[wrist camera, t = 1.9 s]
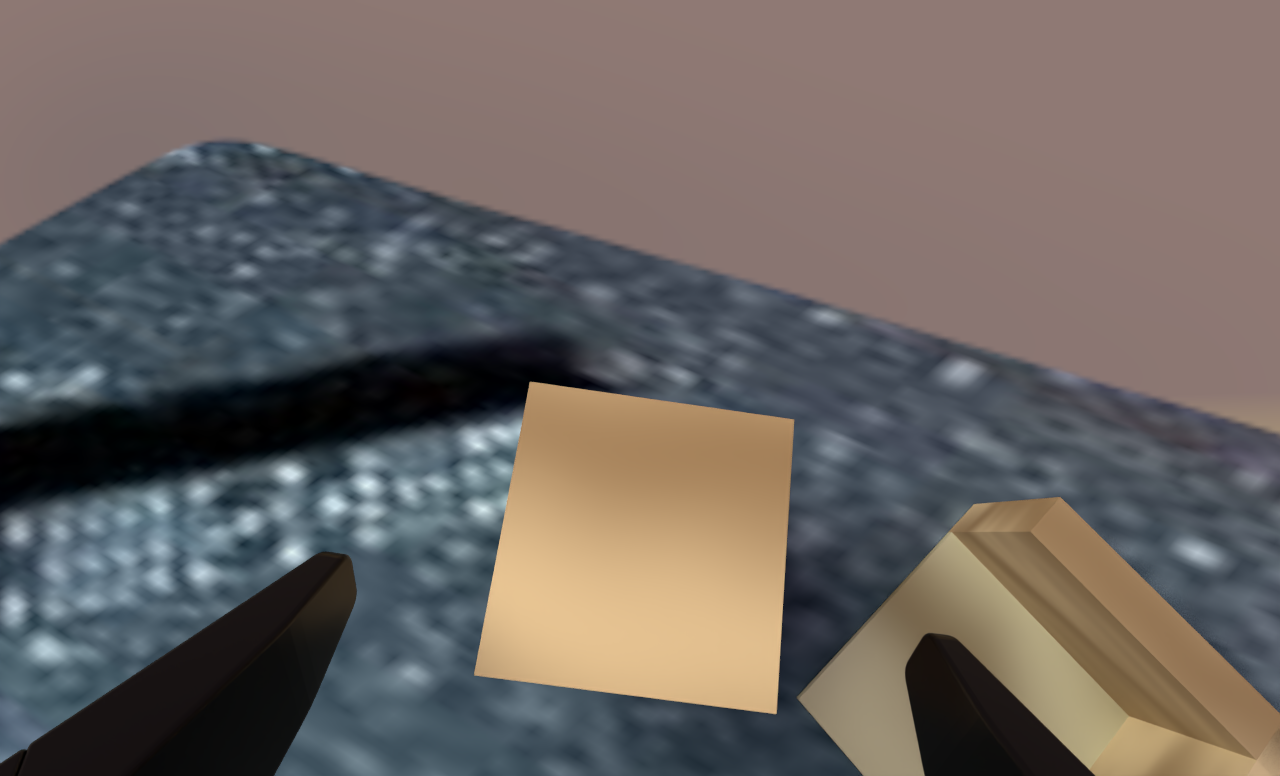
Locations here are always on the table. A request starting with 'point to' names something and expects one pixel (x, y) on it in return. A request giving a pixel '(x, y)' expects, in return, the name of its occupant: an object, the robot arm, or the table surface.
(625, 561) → the maple block
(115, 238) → the table surface
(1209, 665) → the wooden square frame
